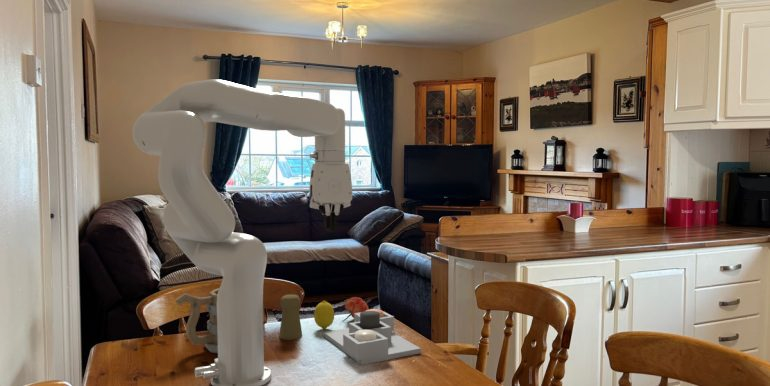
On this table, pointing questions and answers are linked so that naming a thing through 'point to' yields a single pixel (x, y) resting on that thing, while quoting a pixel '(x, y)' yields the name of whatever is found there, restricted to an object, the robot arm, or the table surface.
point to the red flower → (356, 306)
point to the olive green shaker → (290, 318)
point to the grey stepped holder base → (372, 342)
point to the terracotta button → (377, 311)
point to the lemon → (324, 314)
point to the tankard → (211, 302)
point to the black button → (369, 320)
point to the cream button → (365, 335)
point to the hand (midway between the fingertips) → (330, 230)
